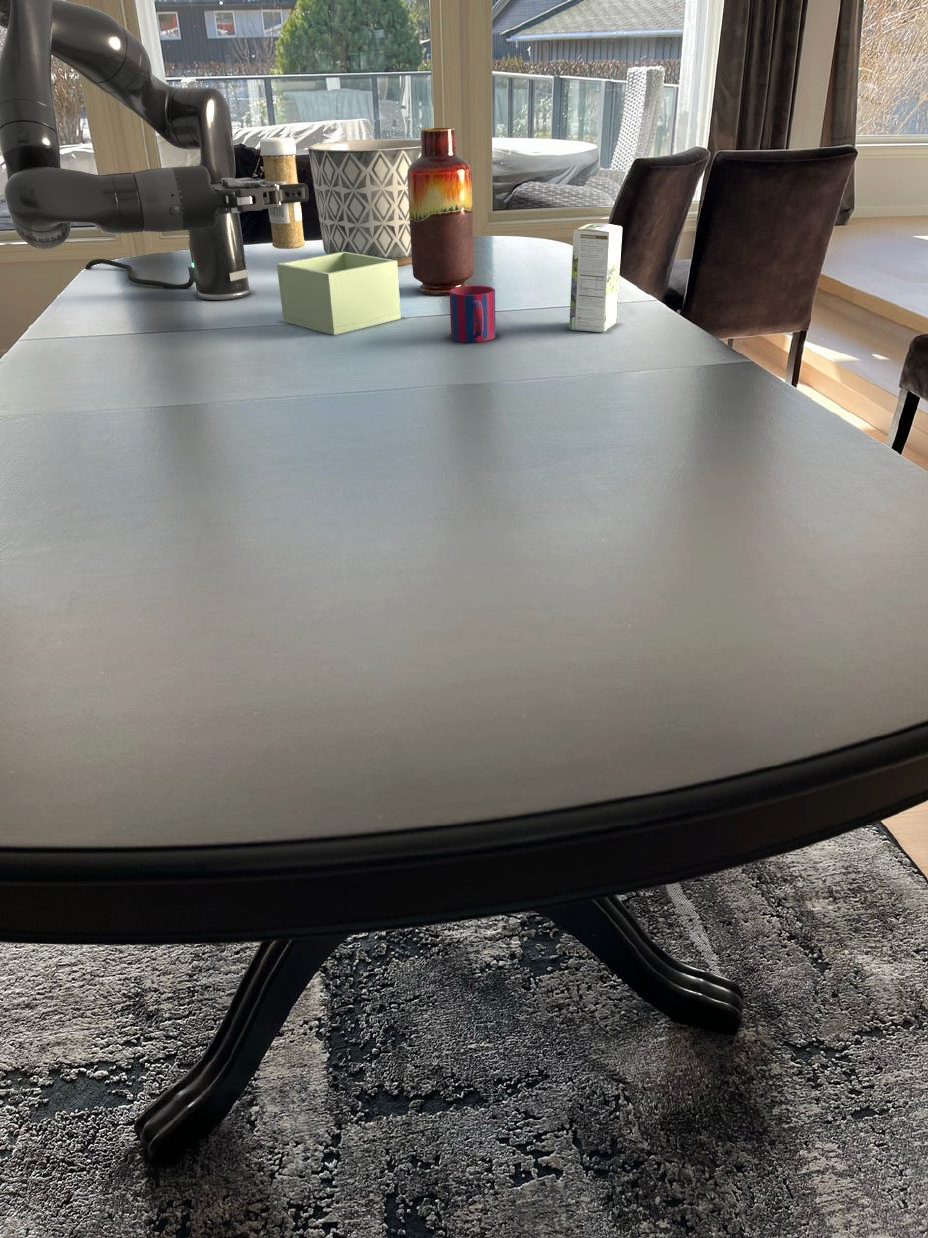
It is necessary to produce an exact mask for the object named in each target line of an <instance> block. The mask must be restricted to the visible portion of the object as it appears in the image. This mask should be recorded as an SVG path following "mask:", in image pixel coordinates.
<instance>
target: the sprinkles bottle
mask: <svg viewBox="0 0 928 1238" xmlns="http://www.w3.org/2000/svg"><path fill="white" fill-rule="evenodd" d="M259 147H260V148H259V149H260V154H261V155H262V160H263V169H264V170H263V171H264V179H265V184H266V185H273V184H278V185H285V184H298V183H297V181H298V174H297V163H296V155H295V154H296V153H297V149H296V141H295V138H294V137H287V136H275V137H265V138H261V139H260V140H259ZM266 193H267V201H270V199H269V192H266ZM281 204H282V203H281ZM302 215H303V214H302V206H301V202H296V203H283V204H282V205H280V207H277V208H268V216H269V222H270V228H271V237H272V242H271V243H272V247H273V248H274V249H278V250H292V249H293V250H294V249H299V248H302V247H305V244H306V241H305V238H304V228H303V216H302Z"/></svg>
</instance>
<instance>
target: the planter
mask: <svg viewBox="0 0 928 1238" xmlns="http://www.w3.org/2000/svg"><path fill="white" fill-rule="evenodd" d="M307 150H308V158H309V163H310V164H309V165H310V169H311V176H312V183H313V188H314V194H315V201H316V208H317V213H318V220H319V226H320V233H321V239H322V245H323V250H324V253H325V254H326V255H329V254H334V253H339V252H350V253H355V254H361V255H367V256H373V257H379V258H384V259H390V260H396V261H397V266H404V265H408V264H412V254H411V237H410V220H409V201H408V182H407V170H408V168H409V166H410V165H411V163H412V162H413V161H415V160H416V159H418V158H419V157H420V156H421V138H419V139H418V138H417V139H416V138H379V139H358V140H356V139H355V140H343V141H342V140H341V141H331V142H322V143H317V144H312V145H309V146H308V147H307Z"/></svg>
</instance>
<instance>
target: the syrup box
mask: <svg viewBox="0 0 928 1238" xmlns="http://www.w3.org/2000/svg"><path fill="white" fill-rule="evenodd" d="M572 237H573V238H572V256H571V281H570V282H571V283H570V303H569V306H570V307H569V323H568V325H569V327H568V329H569V330H572V331H584V332H595V333H605V332H607V331H608V330H610V328H612V327H614V326H615V325H616V323H617V314H618V313H617V312H618V301H619V299H618V298H619V297H618V296H619V295H618V294H619V284H620V269H621V255H622V254H621V253H622V240H623V226H622V225H617V224H616V225H615V224H610V223H600V222H599V223H597V222H596V223H587V224H585V225H582V226H580V227H578V228H576V229H574V230H573V235H572Z"/></svg>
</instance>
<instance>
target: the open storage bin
mask: <svg viewBox="0 0 928 1238" xmlns="http://www.w3.org/2000/svg"><path fill="white" fill-rule="evenodd" d="M276 271H277V279H278V287H279V295H280V302H281V310H282V318H283V319H282V320H283V323H286V324H291V325H295V326H299V327H303V328H307V329H310V330H313V331H317V332H320V333H325V334H329V335H332V336H336V335H341V334H345V333H348V332H349V333H350V332H353V331H357V330H361V329H364V328H370V327H374V326H377V325H380V324H386V323H389V322H393V321H397V320H401V319H402V317H401V316H402V315H401V300H400V285H399V283H400V282H399V268H398V266H397V261H396V260H390V259H384V258H379V257H373V256H367V255H361V254H355V253H350V252H339V253H334V254H329V255H328V254H324V255H317V256H313V257H308V258H307V257H306V258H302V259H297V260H291V261H286V262H280V263H276Z"/></svg>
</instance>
